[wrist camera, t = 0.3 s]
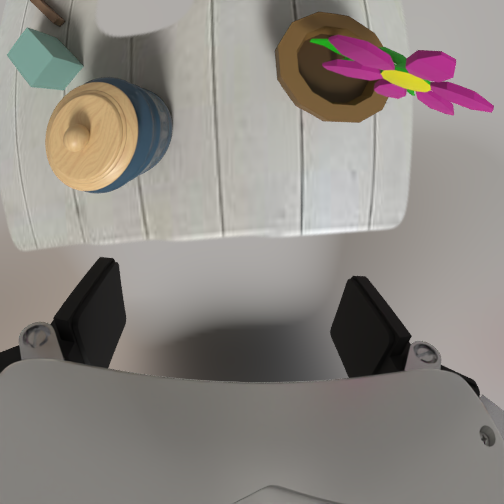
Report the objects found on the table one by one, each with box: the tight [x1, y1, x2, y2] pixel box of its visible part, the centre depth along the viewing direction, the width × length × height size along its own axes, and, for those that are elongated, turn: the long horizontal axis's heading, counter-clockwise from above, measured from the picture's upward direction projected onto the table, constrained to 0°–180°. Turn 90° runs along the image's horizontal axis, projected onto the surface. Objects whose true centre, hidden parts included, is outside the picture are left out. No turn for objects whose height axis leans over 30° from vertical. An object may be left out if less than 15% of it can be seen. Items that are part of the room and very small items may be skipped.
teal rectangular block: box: [7, 28, 83, 90], centre depth 23 cm, size 5×10×9 cm, turn 40°
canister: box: [45, 77, 172, 193], centre depth 26 cm, size 13×13×18 cm
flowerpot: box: [275, 12, 494, 123], centre depth 19 cm, size 14×14×30 cm
